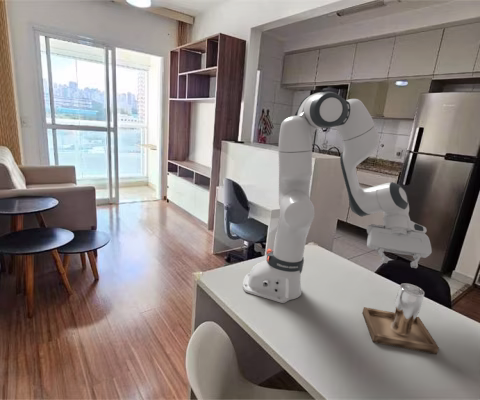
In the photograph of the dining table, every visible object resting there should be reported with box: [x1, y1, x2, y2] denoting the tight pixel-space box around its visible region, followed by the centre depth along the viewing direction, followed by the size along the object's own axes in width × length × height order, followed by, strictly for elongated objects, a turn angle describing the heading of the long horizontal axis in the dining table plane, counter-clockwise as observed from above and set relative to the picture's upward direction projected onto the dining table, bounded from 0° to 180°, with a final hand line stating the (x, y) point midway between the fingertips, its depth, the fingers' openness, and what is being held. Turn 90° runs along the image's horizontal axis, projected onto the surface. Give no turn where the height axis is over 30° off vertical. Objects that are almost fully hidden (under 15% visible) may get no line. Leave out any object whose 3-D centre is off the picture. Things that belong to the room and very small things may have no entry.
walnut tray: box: [361, 306, 440, 355], centre depth 94 cm, size 18×14×2 cm
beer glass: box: [390, 282, 425, 337], centre depth 92 cm, size 7×7×15 cm
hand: (399, 264), depth 98 cm, fingers open, 8 cm apart
